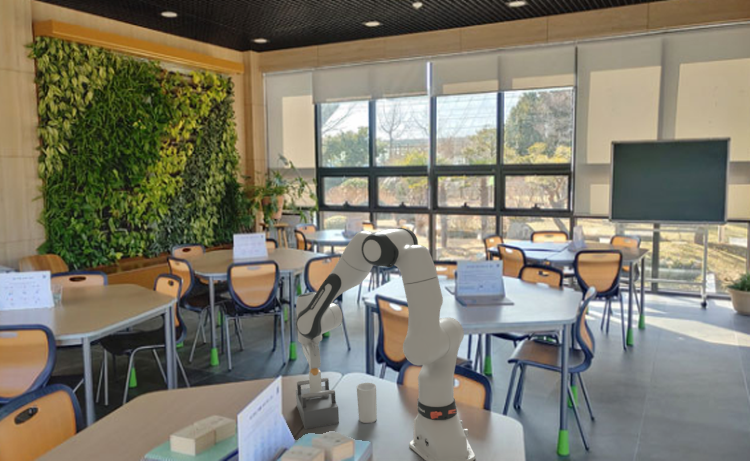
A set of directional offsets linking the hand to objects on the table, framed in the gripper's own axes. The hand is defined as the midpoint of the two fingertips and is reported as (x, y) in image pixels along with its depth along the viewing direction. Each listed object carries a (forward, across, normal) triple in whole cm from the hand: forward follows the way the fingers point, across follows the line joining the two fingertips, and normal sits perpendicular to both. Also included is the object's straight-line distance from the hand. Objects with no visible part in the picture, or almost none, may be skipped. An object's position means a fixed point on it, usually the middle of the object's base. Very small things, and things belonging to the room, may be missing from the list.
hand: (312, 371), depth 209 cm
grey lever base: (+13, -7, 0) cm, 15 cm away
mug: (+14, -16, -17) cm, 27 cm away
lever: (+6, -7, 0) cm, 9 cm away
